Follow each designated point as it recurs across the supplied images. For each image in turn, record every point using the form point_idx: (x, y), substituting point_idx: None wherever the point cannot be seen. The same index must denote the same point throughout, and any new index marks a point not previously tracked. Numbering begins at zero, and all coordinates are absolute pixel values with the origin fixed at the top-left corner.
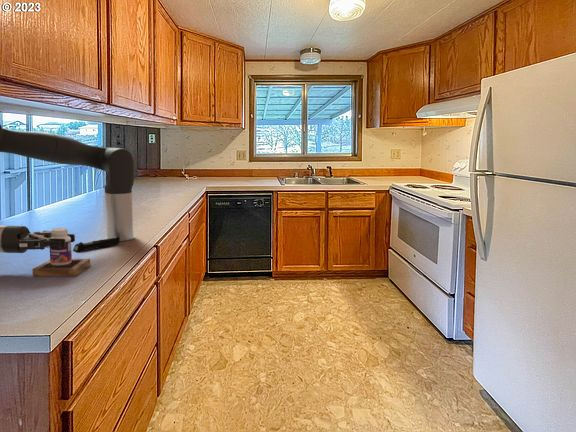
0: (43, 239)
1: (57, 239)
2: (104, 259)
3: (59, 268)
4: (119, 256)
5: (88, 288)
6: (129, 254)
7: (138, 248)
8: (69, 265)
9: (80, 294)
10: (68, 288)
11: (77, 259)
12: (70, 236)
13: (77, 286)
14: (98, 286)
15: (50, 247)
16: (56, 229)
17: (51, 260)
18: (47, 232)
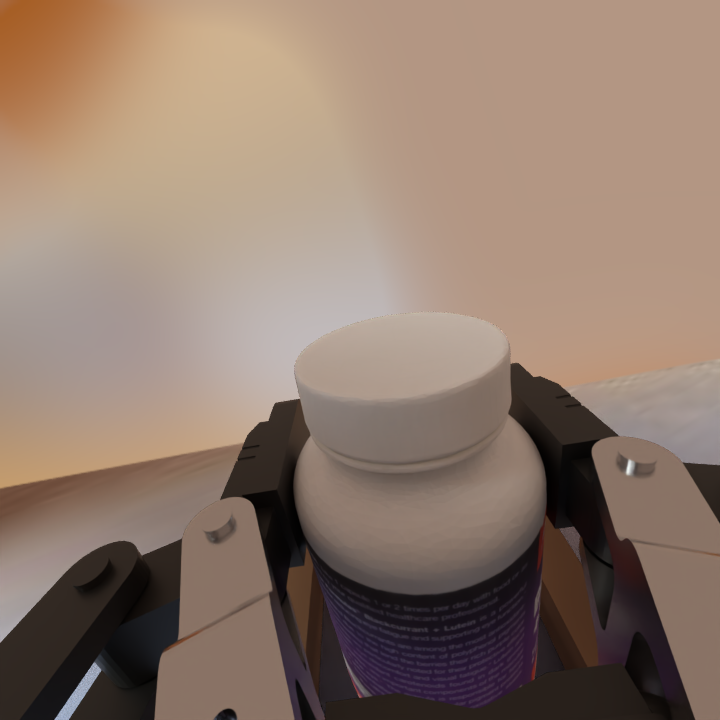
0: (703, 513)
1: (546, 392)
2: (173, 534)
3: (559, 570)
4: (139, 496)
5: (620, 396)
6: (121, 475)
7: (16, 486)
8: (316, 668)
9: (692, 386)
10: (687, 443)
11: (293, 581)
12: (300, 427)
13: (634, 430)
14: (578, 386)
15: (536, 584)
16: (435, 350)
17: (535, 669)
18: (260, 686)
